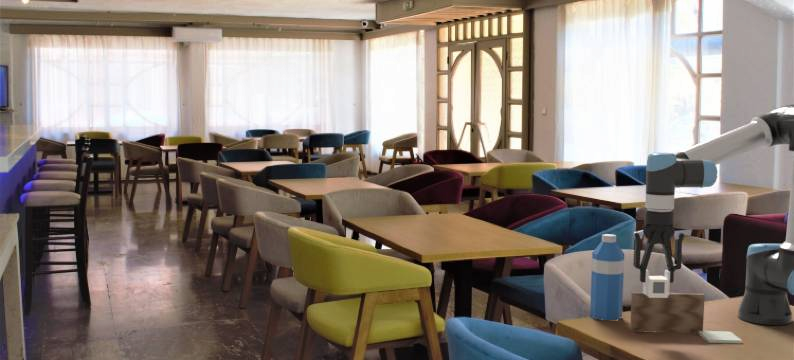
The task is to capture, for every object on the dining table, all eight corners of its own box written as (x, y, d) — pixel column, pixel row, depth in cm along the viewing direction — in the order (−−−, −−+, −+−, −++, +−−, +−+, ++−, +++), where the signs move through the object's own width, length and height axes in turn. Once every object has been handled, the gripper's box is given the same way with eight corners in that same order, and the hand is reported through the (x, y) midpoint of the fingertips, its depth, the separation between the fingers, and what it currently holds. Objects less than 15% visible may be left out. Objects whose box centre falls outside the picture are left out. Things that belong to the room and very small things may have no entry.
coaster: (730, 334, 246) (730, 331, 246) (741, 343, 237) (742, 340, 237) (698, 333, 247) (698, 330, 247) (708, 342, 238) (708, 339, 238)
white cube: (662, 293, 242) (663, 275, 241) (667, 298, 237) (668, 279, 236) (644, 293, 242) (645, 275, 242) (649, 297, 237) (649, 279, 236)
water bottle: (622, 322, 258) (626, 238, 256) (590, 319, 260) (593, 236, 258) (621, 314, 267) (624, 233, 265) (589, 312, 269) (592, 232, 267)
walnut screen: (699, 330, 250) (701, 292, 249) (704, 334, 246) (706, 295, 245) (629, 328, 251) (630, 291, 250) (632, 332, 247) (634, 294, 246)
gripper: (688, 208, 241) (685, 291, 243) (622, 207, 241) (619, 290, 244) (697, 212, 233) (693, 297, 235) (629, 211, 234) (625, 296, 236)
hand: (656, 293), depth 239 cm, fingers closed on white cube, 5 cm apart
